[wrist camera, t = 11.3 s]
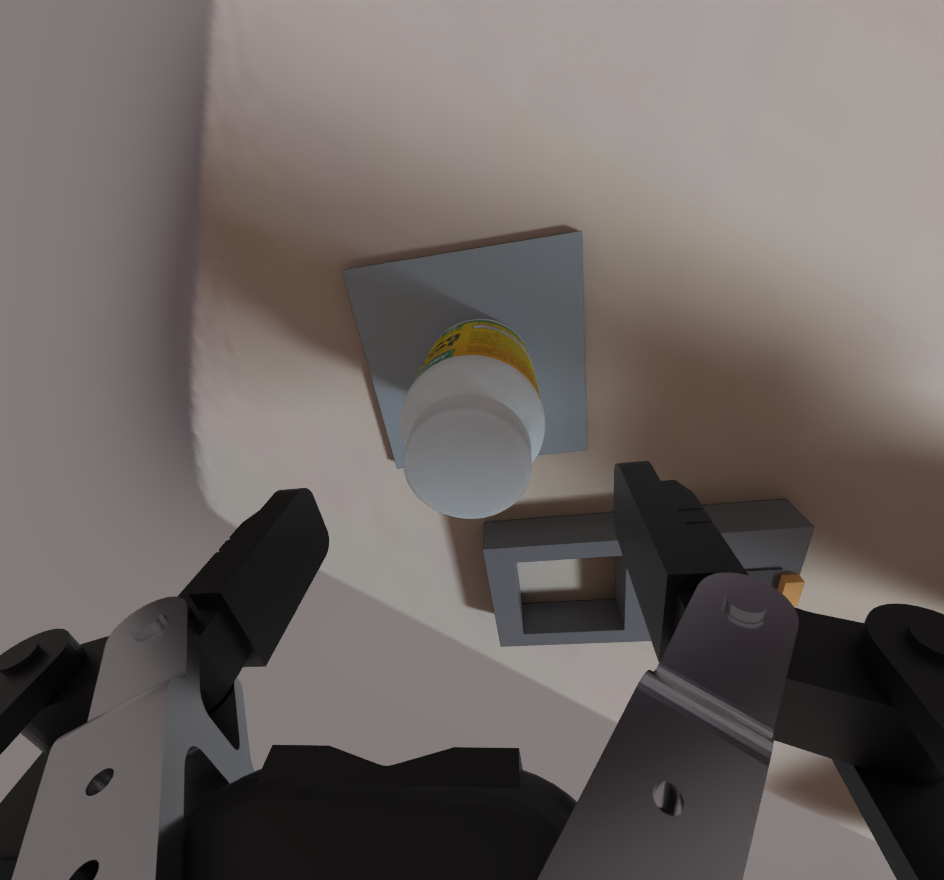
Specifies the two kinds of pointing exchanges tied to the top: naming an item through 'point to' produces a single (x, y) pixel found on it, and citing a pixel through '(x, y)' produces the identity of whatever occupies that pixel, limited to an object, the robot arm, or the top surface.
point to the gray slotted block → (593, 535)
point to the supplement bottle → (473, 421)
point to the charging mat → (479, 297)
